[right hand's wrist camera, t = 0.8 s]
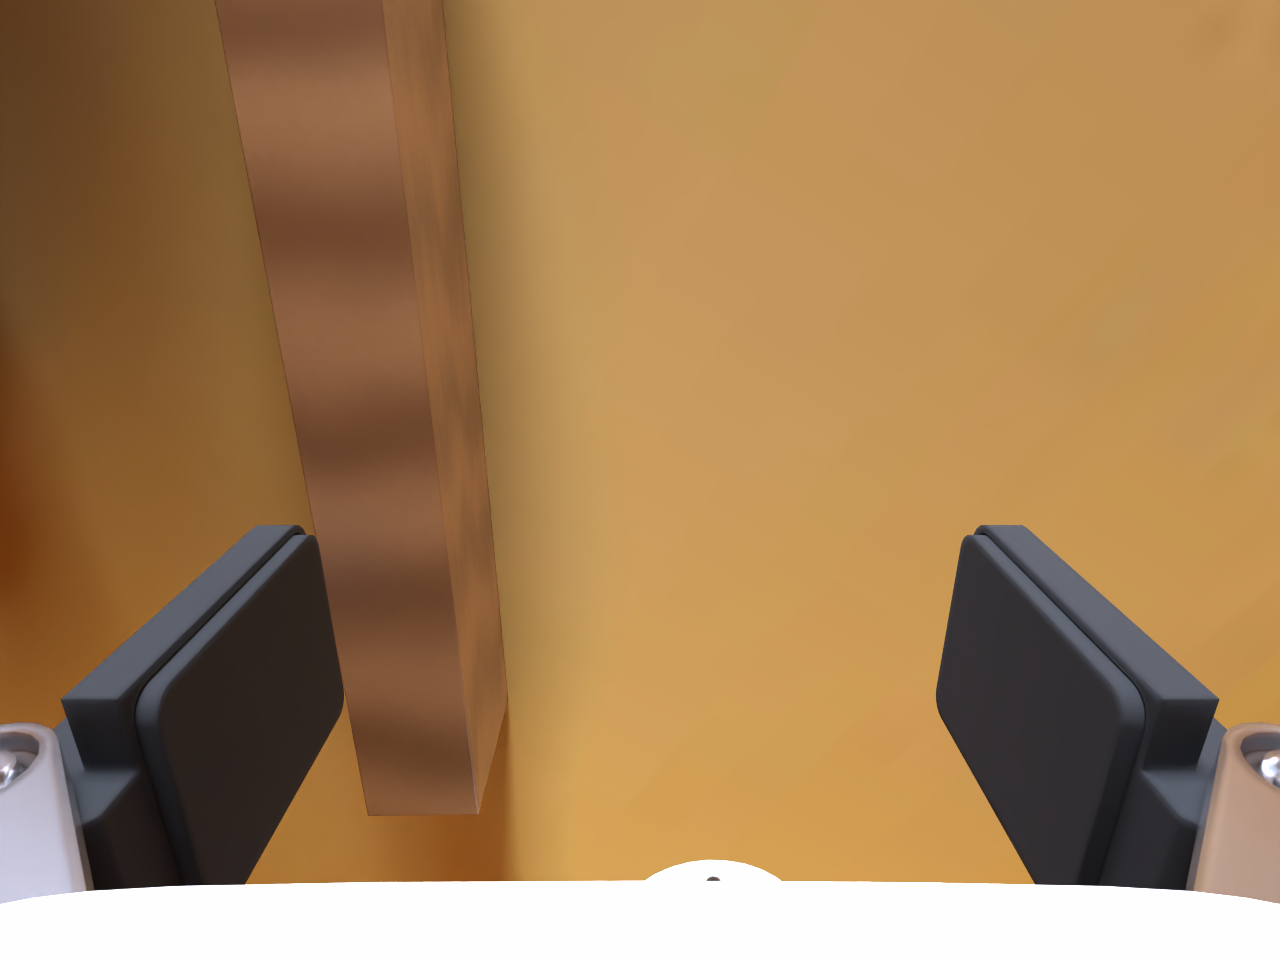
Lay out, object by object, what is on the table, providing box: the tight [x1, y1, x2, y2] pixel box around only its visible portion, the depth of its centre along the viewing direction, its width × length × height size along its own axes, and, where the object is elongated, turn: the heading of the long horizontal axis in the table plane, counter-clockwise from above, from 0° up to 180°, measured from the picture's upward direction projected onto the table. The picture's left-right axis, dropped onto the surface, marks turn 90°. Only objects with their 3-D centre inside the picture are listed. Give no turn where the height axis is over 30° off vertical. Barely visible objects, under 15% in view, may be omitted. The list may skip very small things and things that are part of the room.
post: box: [215, 0, 508, 816], centre depth 30 cm, size 52×5×8 cm, turn 1°
